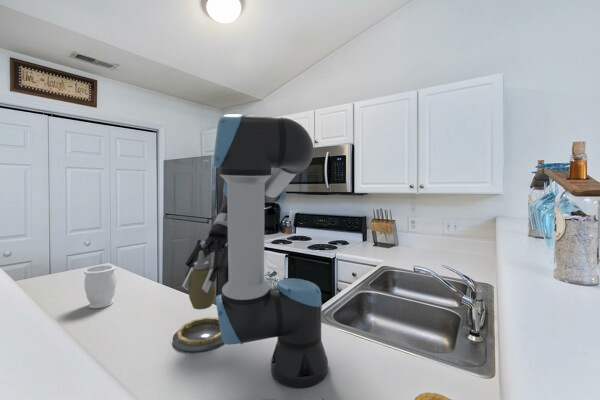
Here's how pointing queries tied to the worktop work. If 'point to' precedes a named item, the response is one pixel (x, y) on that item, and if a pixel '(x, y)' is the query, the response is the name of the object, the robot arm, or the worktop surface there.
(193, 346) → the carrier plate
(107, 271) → the jar
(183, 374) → the worktop surface
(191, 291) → the squeeze bottle
